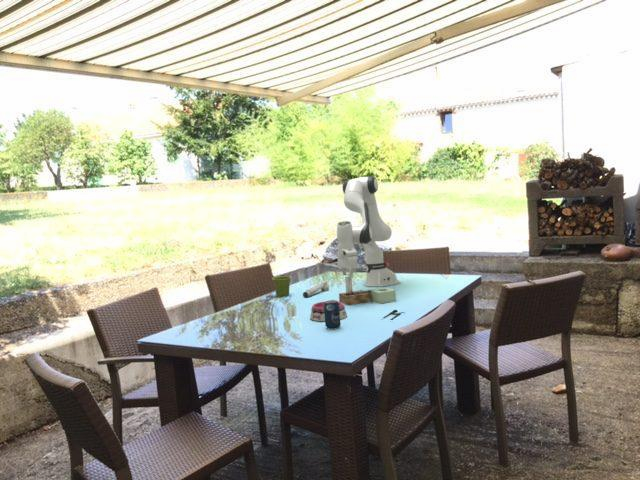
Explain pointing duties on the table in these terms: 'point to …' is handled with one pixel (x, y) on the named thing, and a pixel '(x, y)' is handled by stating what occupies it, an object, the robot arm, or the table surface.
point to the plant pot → (282, 285)
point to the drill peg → (348, 286)
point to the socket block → (355, 298)
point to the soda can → (332, 314)
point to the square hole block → (383, 295)
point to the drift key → (365, 291)
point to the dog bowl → (318, 312)
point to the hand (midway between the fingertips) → (347, 276)
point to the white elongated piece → (316, 289)
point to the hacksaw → (394, 314)
